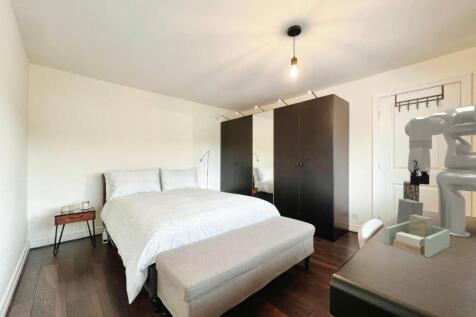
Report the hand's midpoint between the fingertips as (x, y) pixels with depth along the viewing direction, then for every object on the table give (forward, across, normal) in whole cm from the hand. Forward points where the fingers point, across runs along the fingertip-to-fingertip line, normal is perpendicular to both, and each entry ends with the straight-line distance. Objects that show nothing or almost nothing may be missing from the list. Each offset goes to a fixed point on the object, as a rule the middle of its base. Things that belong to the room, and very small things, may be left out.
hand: (419, 184), depth 90 cm
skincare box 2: (+26, 0, 0) cm, 26 cm away
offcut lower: (+26, +10, 0) cm, 28 cm away
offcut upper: (+23, +10, 0) cm, 25 cm away
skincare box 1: (+26, -19, -10) cm, 34 cm away
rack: (+26, +2, 0) cm, 26 cm away
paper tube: (+26, -29, -14) cm, 41 cm away
